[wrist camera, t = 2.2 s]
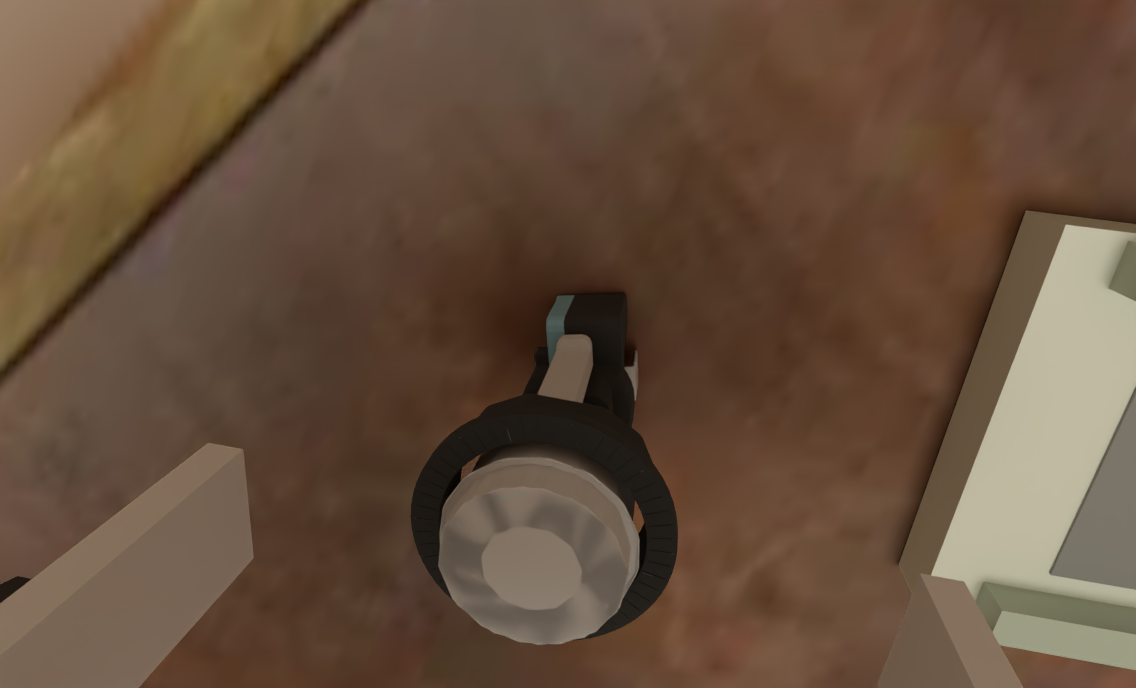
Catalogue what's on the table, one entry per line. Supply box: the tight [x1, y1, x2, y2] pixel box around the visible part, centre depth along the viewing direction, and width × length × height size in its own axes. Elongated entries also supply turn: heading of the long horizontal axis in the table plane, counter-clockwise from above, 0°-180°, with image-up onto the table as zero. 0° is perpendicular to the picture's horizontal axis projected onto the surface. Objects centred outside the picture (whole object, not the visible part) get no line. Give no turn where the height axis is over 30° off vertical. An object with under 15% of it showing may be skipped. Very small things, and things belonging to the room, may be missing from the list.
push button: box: [411, 294, 678, 645], centre depth 17 cm, size 7×5×10 cm
